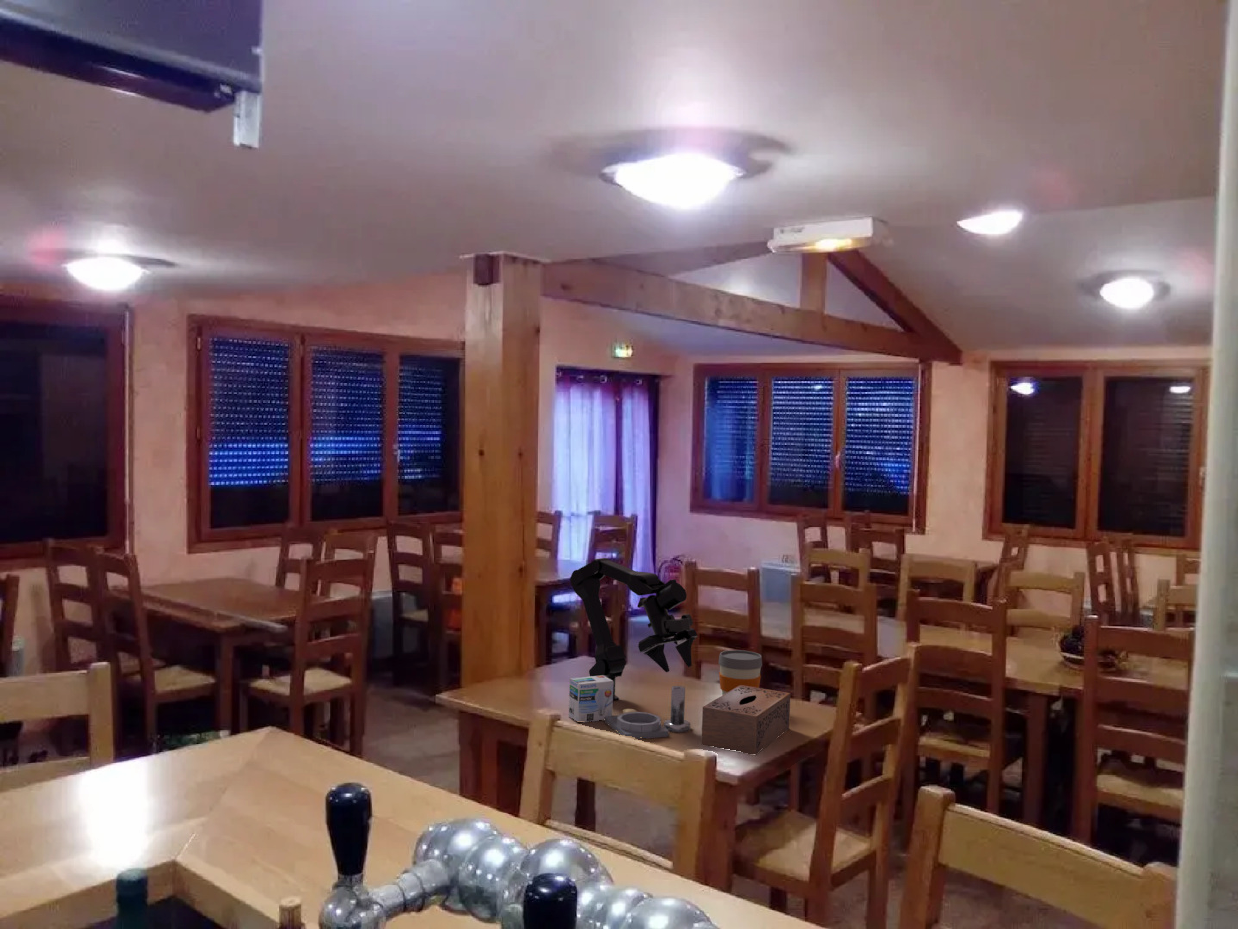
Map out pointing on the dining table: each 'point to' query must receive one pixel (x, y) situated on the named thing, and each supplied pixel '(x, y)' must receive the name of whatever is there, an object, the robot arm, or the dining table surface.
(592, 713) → the light bulb box
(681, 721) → the metal flanged shaft
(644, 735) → the carrier plate
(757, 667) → the reusable coffee cup
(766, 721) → the tissue box cover
